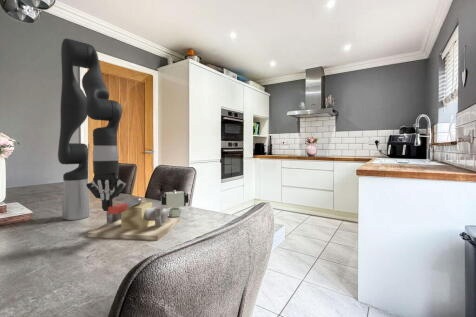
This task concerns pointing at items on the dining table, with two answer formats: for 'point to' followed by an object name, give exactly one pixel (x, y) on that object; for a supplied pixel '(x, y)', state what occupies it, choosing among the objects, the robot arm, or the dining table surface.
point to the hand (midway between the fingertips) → (107, 210)
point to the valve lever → (123, 206)
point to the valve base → (134, 233)
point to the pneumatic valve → (174, 201)
